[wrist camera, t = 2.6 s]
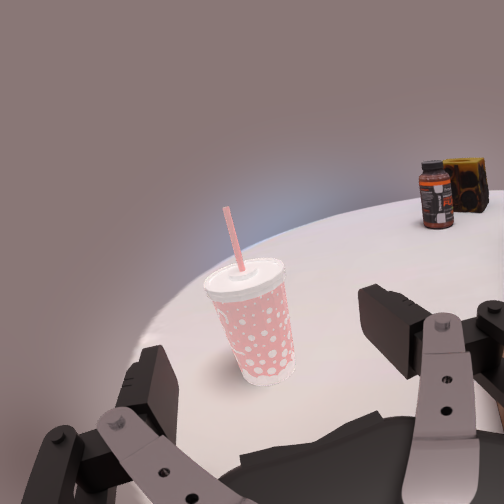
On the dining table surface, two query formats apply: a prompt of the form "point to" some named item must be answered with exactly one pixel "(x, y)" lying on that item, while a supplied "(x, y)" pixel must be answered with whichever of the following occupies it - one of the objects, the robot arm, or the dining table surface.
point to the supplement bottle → (436, 195)
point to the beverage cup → (254, 314)
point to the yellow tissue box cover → (468, 184)
